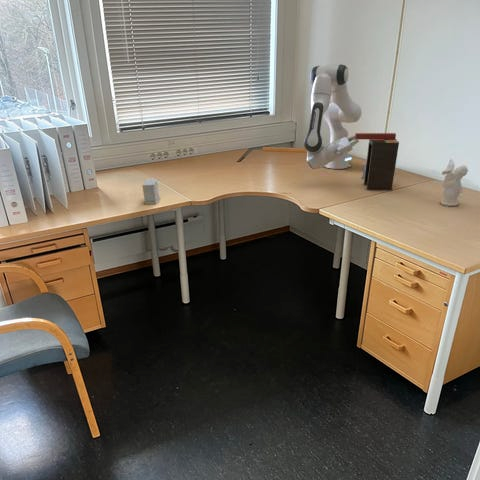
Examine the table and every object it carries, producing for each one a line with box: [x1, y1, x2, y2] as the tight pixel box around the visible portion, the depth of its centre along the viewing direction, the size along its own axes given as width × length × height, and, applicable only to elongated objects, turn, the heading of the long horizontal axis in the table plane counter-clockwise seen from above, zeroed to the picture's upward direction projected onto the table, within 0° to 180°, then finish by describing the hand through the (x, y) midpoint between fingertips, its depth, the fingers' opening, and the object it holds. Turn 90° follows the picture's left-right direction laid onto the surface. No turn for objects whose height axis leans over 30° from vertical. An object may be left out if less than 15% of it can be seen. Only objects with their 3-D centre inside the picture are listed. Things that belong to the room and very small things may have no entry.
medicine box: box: [361, 163, 366, 180], centre depth 291 cm, size 8×4×9 cm, turn 47°
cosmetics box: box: [142, 179, 160, 205], centre depth 260 cm, size 10×6×10 cm, turn 178°
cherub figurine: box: [440, 158, 469, 207], centre depth 246 cm, size 12×12×22 cm
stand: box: [363, 138, 400, 191], centre depth 272 cm, size 12×14×26 cm
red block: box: [354, 132, 397, 140], centre depth 267 cm, size 3×22×3 cm, turn 86°
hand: (357, 138), depth 269 cm, fingers open, 8 cm apart
